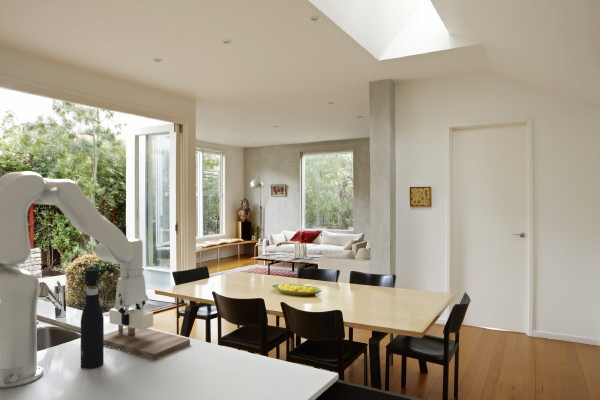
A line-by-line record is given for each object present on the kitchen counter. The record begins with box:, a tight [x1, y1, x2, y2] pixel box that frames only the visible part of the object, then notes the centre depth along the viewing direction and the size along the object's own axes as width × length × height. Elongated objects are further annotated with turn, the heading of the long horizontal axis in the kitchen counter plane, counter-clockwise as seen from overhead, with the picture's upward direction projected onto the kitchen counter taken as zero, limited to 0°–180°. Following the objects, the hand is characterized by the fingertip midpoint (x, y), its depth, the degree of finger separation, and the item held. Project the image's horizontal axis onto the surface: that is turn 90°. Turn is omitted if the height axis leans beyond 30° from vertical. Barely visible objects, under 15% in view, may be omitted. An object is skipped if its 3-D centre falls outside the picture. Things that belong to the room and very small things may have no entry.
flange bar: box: [109, 305, 154, 330], centre depth 151 cm, size 17×5×5 cm, turn 64°
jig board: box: [104, 325, 191, 361], centre depth 148 cm, size 30×16×8 cm, turn 61°
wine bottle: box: [80, 268, 105, 370], centre depth 129 cm, size 6×6×30 cm
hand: (131, 322), depth 151 cm, fingers closed on flange bar, 5 cm apart
